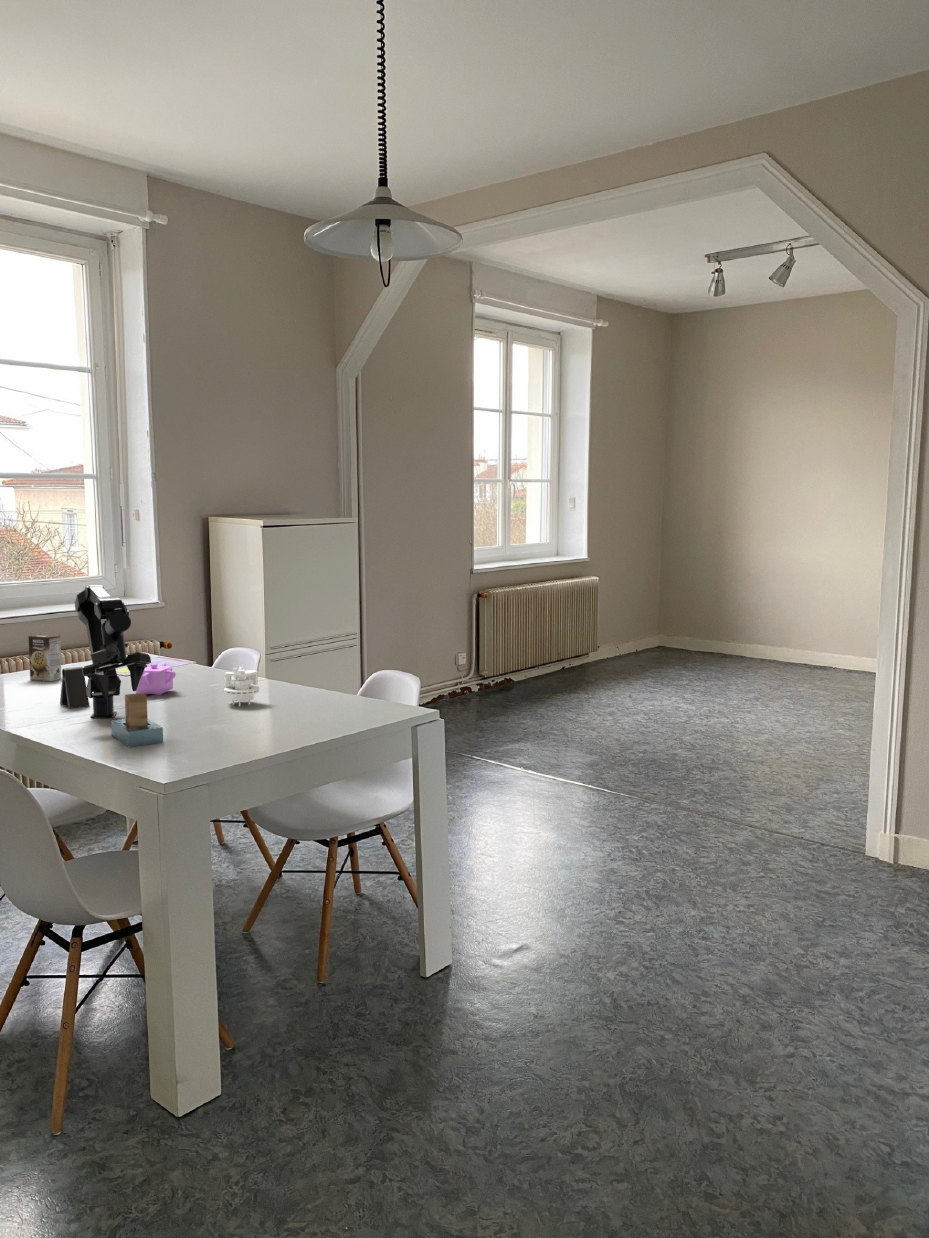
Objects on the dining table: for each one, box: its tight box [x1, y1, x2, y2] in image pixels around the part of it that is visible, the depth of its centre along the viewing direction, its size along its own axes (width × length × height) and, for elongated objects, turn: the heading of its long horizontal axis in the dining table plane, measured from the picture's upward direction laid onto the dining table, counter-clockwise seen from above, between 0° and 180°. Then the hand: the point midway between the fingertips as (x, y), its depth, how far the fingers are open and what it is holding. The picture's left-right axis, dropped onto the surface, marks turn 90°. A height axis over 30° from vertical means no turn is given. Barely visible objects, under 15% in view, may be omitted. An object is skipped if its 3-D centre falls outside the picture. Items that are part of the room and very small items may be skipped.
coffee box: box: [28, 633, 62, 682], centre depth 337 cm, size 9×6×16 cm
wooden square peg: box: [124, 692, 148, 727], centre depth 251 cm, size 4×4×12 cm
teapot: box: [135, 662, 177, 696], centre depth 314 cm, size 18×14×10 cm
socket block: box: [110, 717, 164, 748], centre depth 252 cm, size 16×9×4 cm, turn 36°
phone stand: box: [59, 666, 90, 710], centre depth 293 cm, size 9×6×12 cm, turn 42°
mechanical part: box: [223, 666, 260, 707], centre depth 297 cm, size 11×12×12 cm
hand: (120, 694), depth 259 cm, fingers open, 9 cm apart
